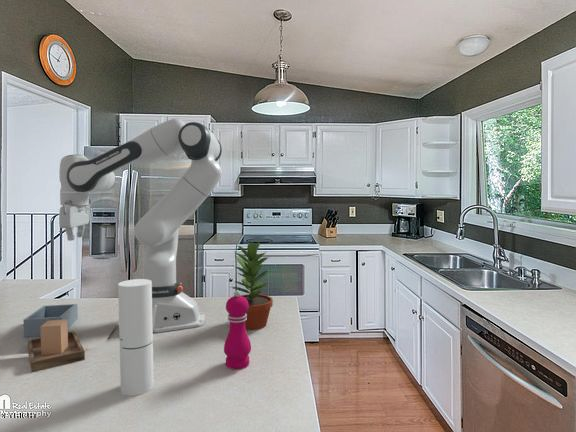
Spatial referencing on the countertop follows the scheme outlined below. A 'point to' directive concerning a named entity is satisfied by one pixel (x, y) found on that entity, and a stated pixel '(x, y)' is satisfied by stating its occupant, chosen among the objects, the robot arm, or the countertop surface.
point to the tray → (52, 360)
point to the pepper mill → (237, 333)
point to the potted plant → (253, 287)
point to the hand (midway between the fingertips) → (75, 238)
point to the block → (54, 337)
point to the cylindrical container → (136, 336)
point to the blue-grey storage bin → (49, 317)
